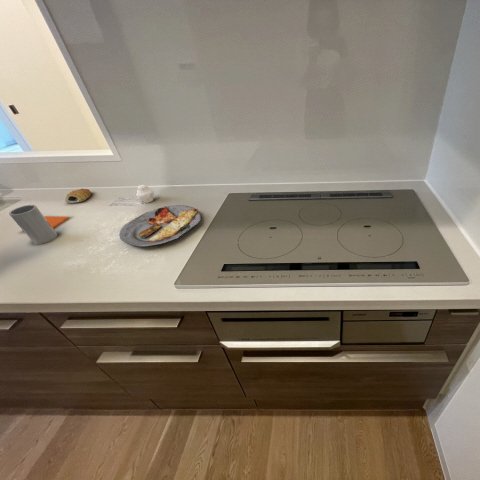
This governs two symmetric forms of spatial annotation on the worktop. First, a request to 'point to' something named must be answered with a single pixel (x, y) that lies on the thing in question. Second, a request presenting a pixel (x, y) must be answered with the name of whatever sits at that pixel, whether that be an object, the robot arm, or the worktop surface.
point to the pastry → (78, 195)
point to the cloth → (55, 220)
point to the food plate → (160, 225)
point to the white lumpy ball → (145, 193)
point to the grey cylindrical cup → (33, 224)
